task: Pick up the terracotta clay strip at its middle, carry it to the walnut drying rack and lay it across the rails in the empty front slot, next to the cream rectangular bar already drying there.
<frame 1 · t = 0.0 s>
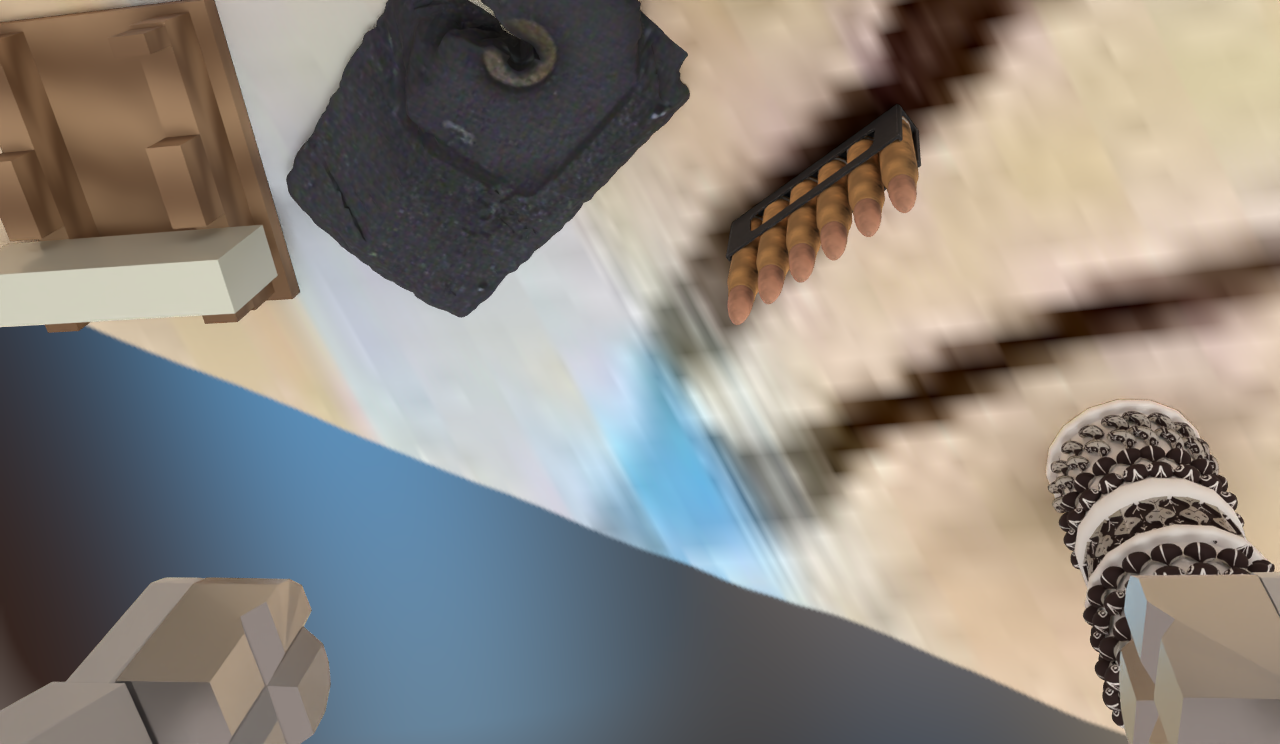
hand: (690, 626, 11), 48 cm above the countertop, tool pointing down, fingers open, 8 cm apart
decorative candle: (1123, 461, 63), on the countertop
dark slate chunk: (479, 112, 60), on the countertop
ammunition clip: (821, 178, 58), on the countertop
cream rectangular bar: (141, 259, 62), point 3 cm above the countertop, touching walnut drying rack
walnut drying rack: (148, 163, 63), on the countertop
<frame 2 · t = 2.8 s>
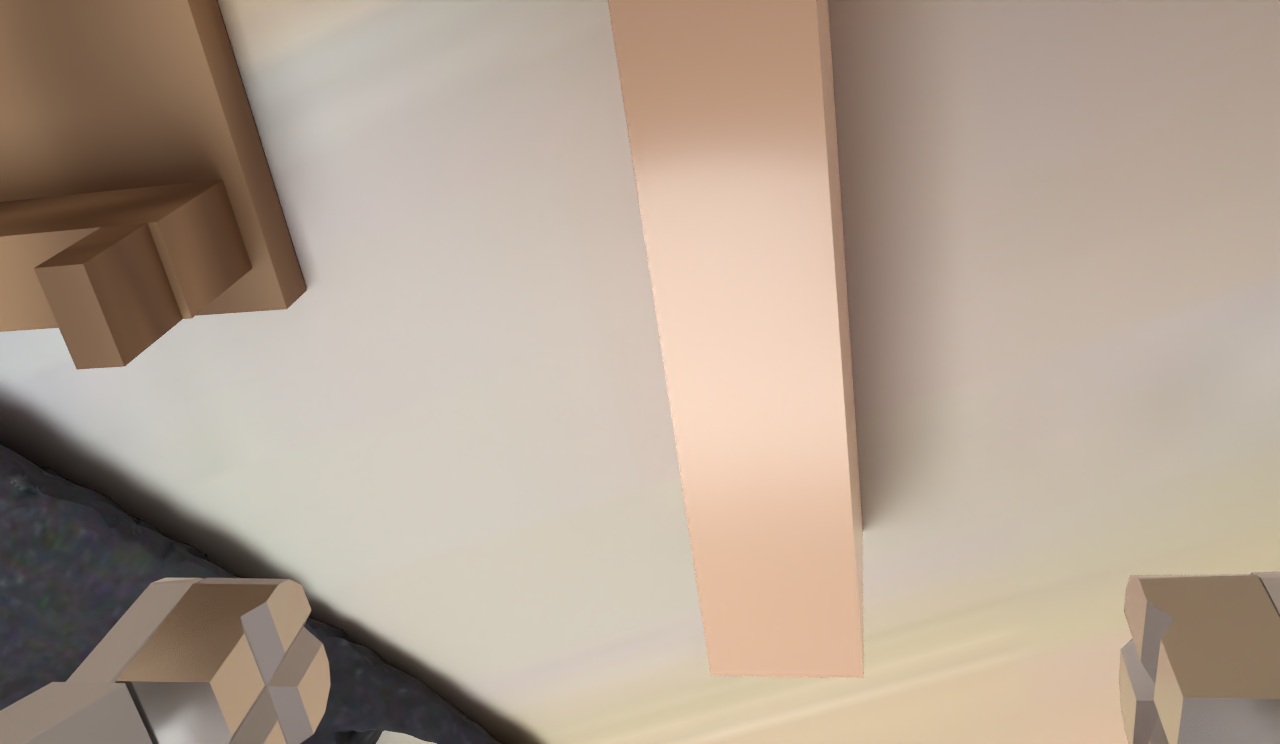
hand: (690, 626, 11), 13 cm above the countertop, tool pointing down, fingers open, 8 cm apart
clay strip: (766, 205, 23), on the countertop
dark slate chunk: (199, 694, 33), on the countertop
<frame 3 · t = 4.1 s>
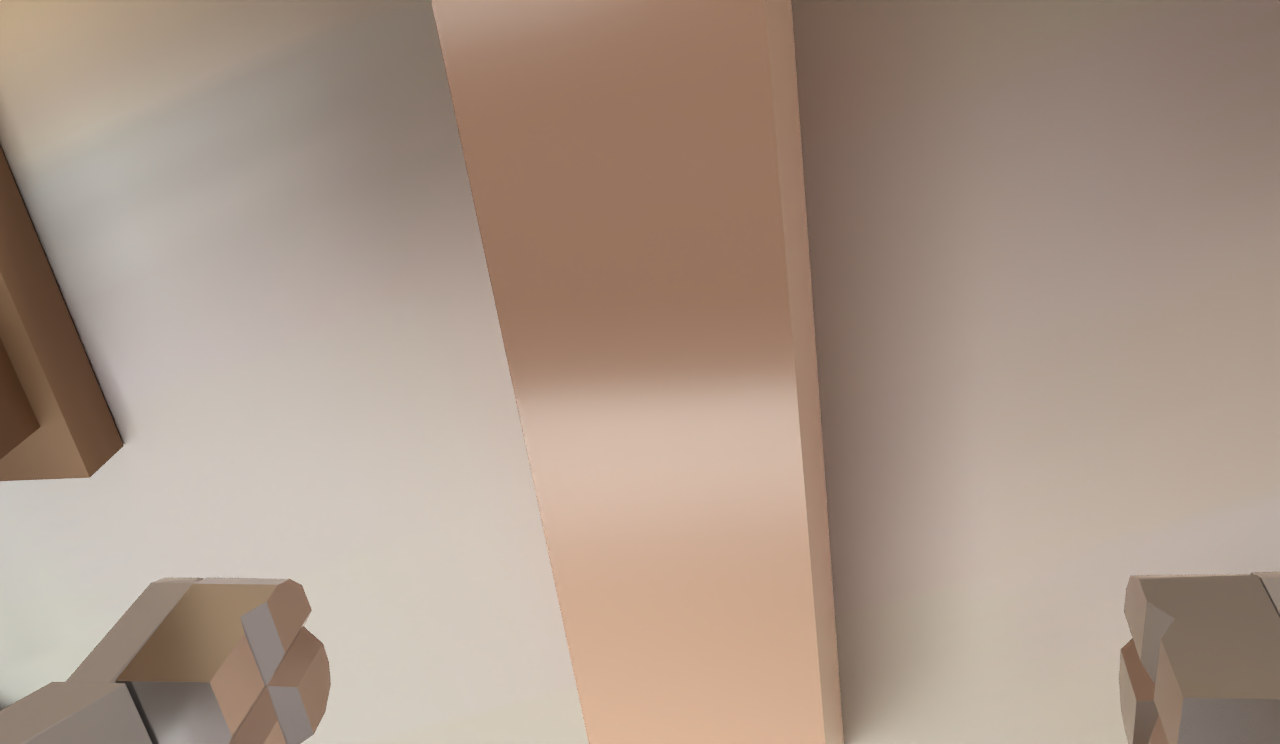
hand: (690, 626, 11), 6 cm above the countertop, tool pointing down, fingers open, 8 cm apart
clay strip: (717, 352, 17), on the countertop
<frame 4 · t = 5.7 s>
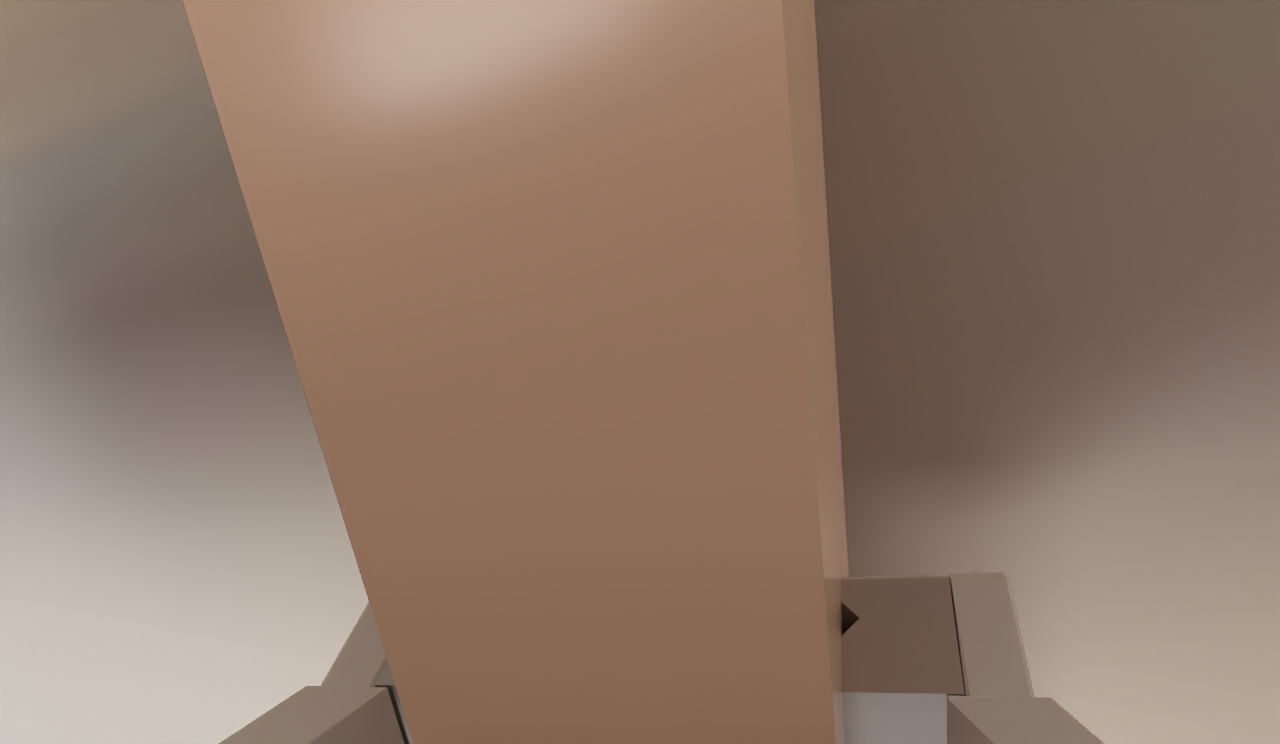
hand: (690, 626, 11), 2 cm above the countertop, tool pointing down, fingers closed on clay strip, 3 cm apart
clay strip: (711, 508, 13), on the countertop, touching gripper
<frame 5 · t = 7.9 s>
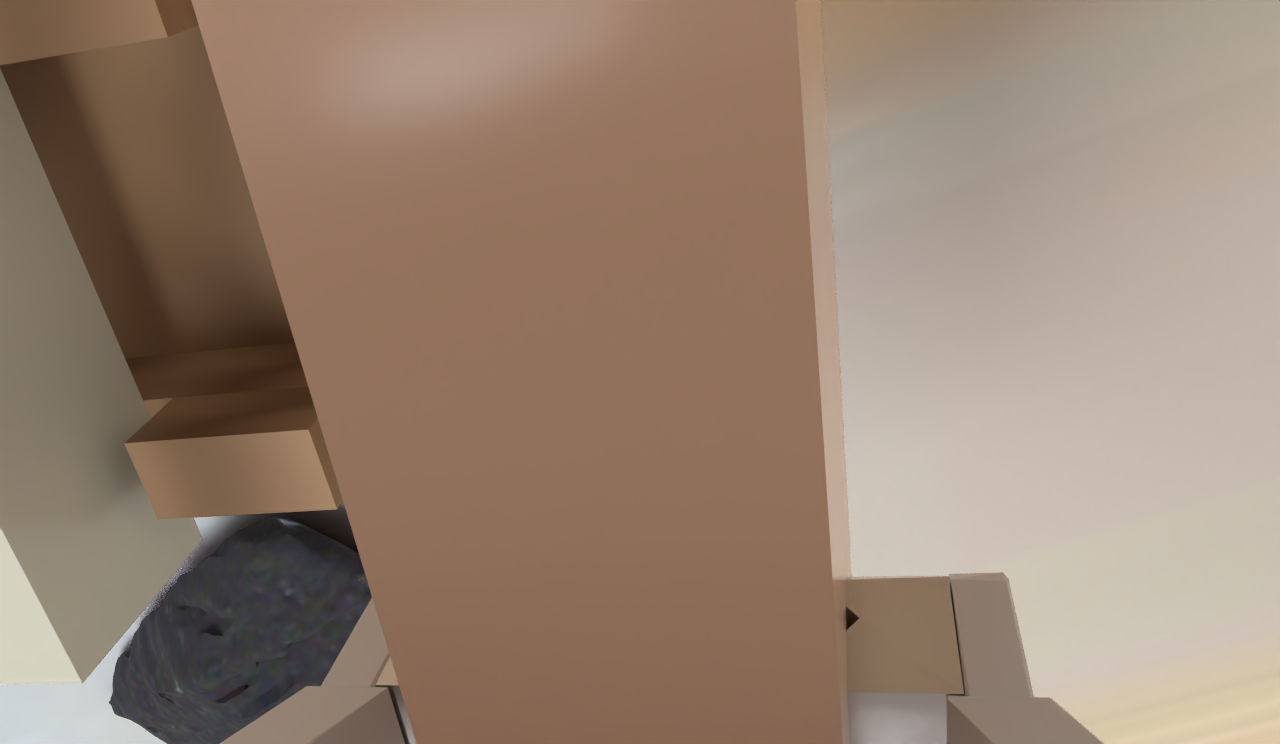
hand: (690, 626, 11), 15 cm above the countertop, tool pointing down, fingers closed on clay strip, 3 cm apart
clay strip: (714, 509, 13), point 13 cm above the countertop, touching gripper
cream rectangular bar: (15, 247, 24), point 3 cm above the countertop, touching walnut drying rack
walnut drying rack: (271, 173, 26), on the countertop
when the fingers open (7 cm above the countertop, at t = 10.1 s): clay strip drops 1 cm, resting on walnut drying rack.
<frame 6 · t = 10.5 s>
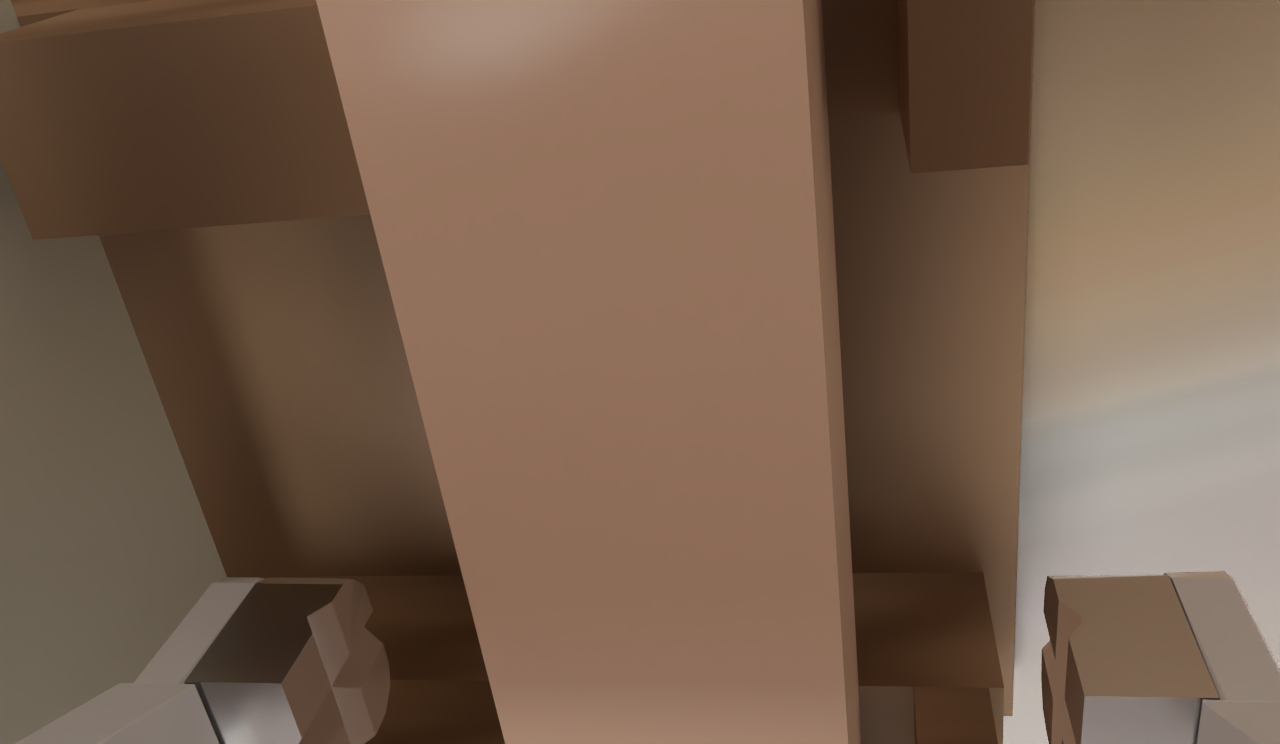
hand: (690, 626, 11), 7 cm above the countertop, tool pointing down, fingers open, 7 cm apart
clay strip: (723, 440, 14), point 3 cm above the countertop, touching walnut drying rack
cream rectangular bar: (88, 463, 16), point 3 cm above the countertop, touching walnut drying rack
walnut drying rack: (462, 338, 18), on the countertop
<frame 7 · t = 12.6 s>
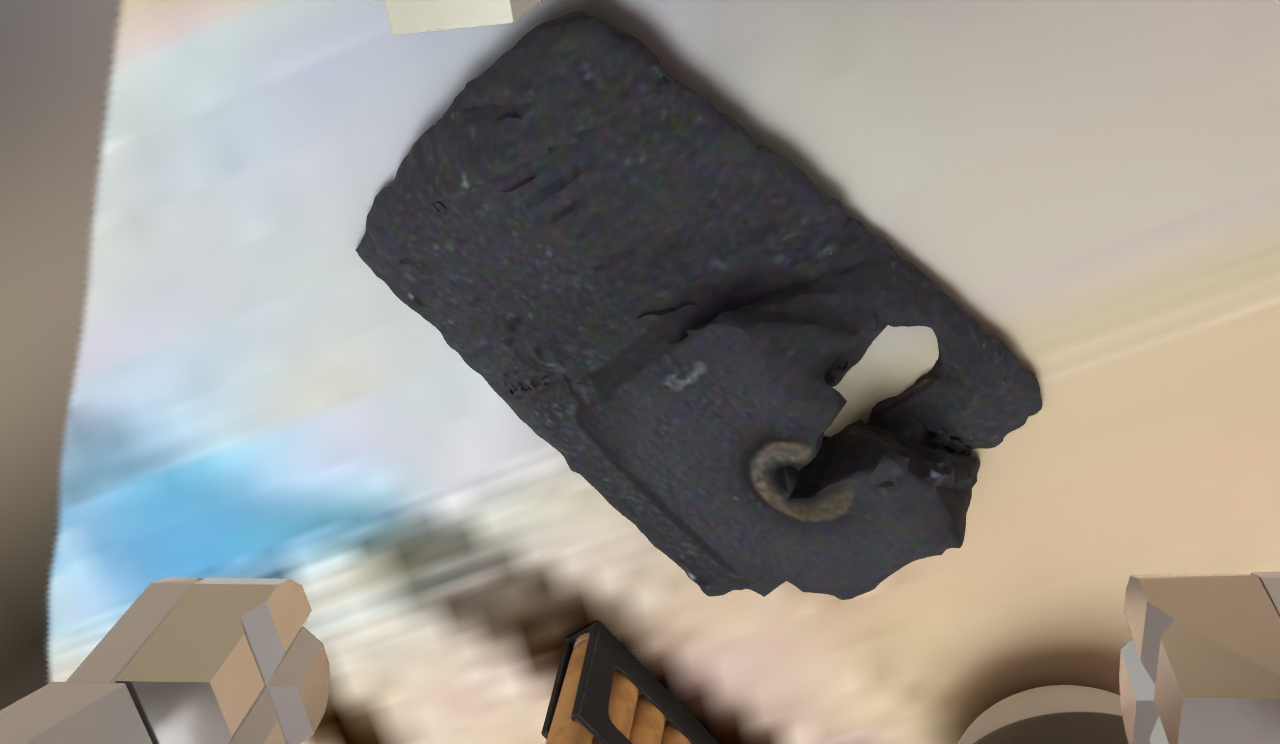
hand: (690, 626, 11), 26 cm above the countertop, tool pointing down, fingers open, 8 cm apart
dark slate chunk: (695, 319, 39), on the countertop
ammunition clip: (663, 707, 47), on the countertop
pump dispenser: (1056, 733, 45), on the countertop
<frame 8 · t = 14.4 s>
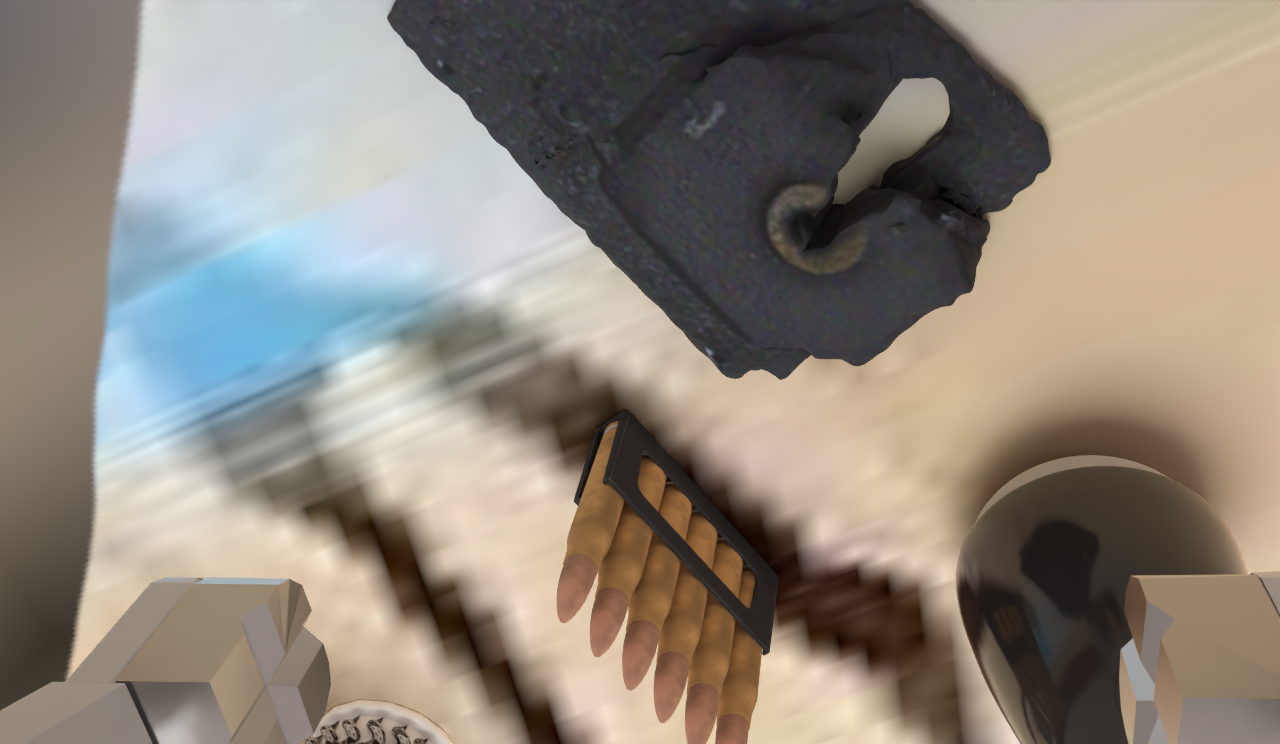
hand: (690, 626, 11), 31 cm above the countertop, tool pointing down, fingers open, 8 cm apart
dark slate chunk: (714, 86, 40), on the countertop
ammunition clip: (689, 502, 48), on the countertop
pump dispenser: (1074, 516, 46), on the countertop
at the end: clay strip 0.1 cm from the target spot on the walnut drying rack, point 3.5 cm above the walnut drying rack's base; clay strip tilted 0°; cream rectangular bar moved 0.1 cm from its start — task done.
